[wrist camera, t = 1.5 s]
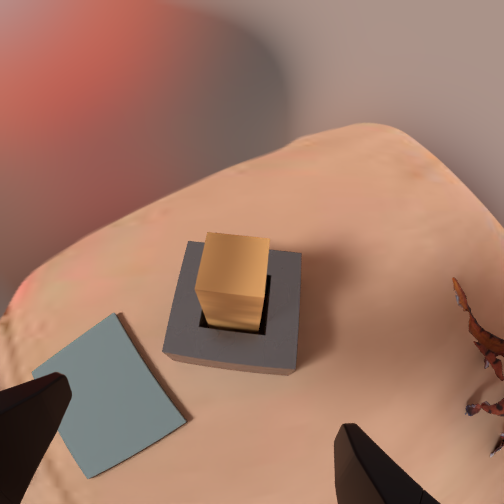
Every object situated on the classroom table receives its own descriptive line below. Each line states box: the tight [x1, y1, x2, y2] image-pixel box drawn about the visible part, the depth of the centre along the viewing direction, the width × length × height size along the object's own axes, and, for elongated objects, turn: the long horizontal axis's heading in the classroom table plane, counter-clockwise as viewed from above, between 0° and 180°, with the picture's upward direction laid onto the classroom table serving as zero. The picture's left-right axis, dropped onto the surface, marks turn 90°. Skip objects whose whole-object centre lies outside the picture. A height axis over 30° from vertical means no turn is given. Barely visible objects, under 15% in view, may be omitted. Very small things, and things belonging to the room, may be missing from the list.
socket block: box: [162, 241, 301, 376], centre depth 22 cm, size 9×9×4 cm
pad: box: [32, 313, 187, 479], centre depth 18 cm, size 11×11×1 cm
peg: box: [195, 232, 270, 335], centre depth 19 cm, size 4×4×9 cm
